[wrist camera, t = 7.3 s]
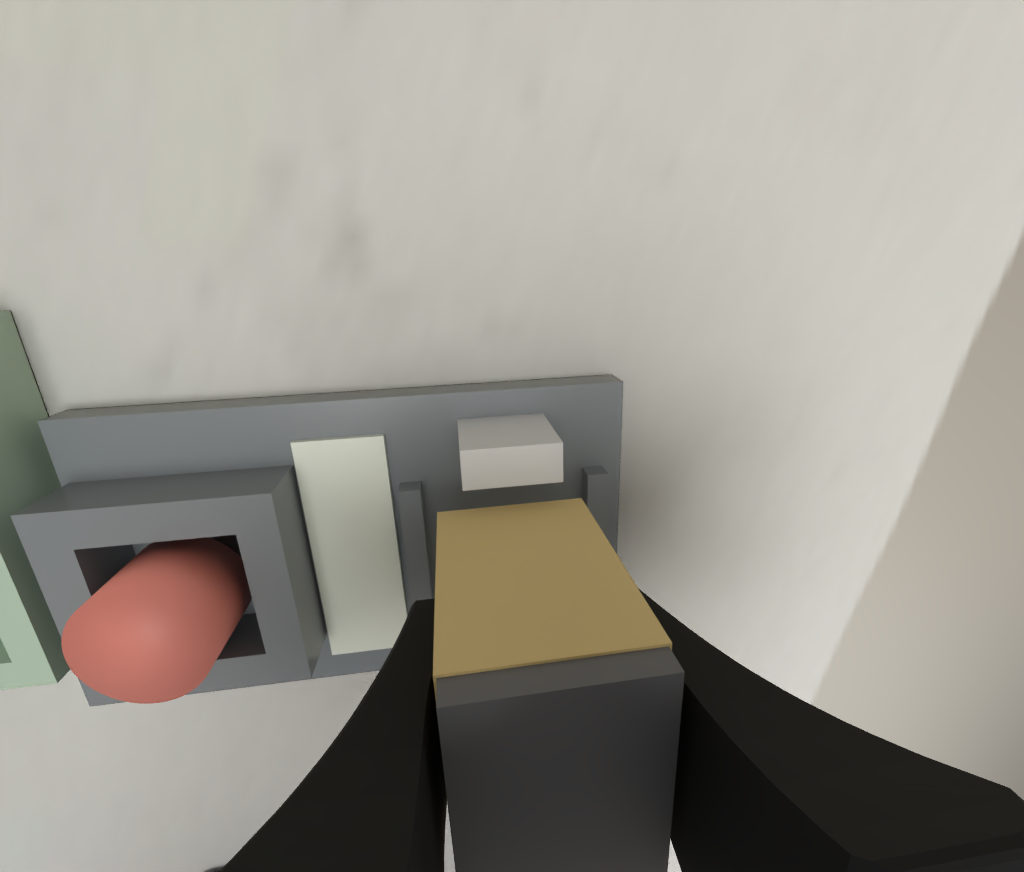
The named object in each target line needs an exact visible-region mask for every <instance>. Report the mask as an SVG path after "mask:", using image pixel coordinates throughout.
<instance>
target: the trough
mask: <svg viewBox="0 0 1024 872" xmlns="http://www.w3.org/2000/svg"><path fill="white" fill-rule="evenodd" d="M46 417H48V415H47V412H46V409H45V406H44V404H43V401H42V398H41V395H40V393H39V390H38V387H37V384H36V382H35V379H34V376H33V373H32V371H31V368H30V365H29V362H28V360H27V357H26V354H25V351H24V349H23V346H22V343H21V340H20V337H19V335H18V332H17V329H16V326H15V324H14V321H13V318H12V315H11V313H10V311H0V690H4V689H12V688H21V687H29V686H37V685H46V684H54V683H58V682H59V681H60V680H61V679H62V678H63V677H64V676H65V674H66V673H67V672H68V671H69V670H70V667H69V666H68V664H67V662H66V660H65V658H64V655H63V652H62V645H61V641H62V638H61V636H60V634H59V631H58V629H57V627H56V624H55V622H54V619H53V617H52V615H51V612H50V610H49V607H48V605H47V603H46V600H45V598H44V595H43V593H42V591H41V588H40V586H39V583H38V581H37V579H36V576H35V574H34V571H33V569H32V567H31V564H30V562H29V559H28V557H27V555H26V552H25V550H24V548H23V545H22V543H21V540H20V538H19V536H18V533H17V531H16V528H15V526H14V524H13V521H12V519H11V516H10V515H12V514H14V513H16V512H18V511H19V510H21V509H23V508H25V507H27V506H28V505H30V504H32V503H34V502H35V501H37V500H39V499H41V498H43V497H44V496H46V495H48V494H50V493H52V492H53V491H55V490H57V489H59V488H61V484H60V481H59V478H58V476H57V473H56V470H55V468H54V465H53V462H52V460H51V457H50V454H49V452H48V449H47V446H46V443H45V441H44V438H43V435H42V433H41V430H40V427H39V425H38V422H37V421H38V420H41V419H43V418H46Z"/></svg>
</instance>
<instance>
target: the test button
mask: <svg viewBox="0 0 1024 872" xmlns="http://www.w3.org/2000/svg"><path fill="white" fill-rule="evenodd" d="M251 599H252V596H251V592H250V588H249V584H248V580H247V576H246V572H245V568H244V564H243V560H242V558H241V557H240V556H239V555H238V554H237V553H236V552H234V551H233V550H232V549H230V548H229V547H228V546H226V545H224V544H222V543H220V542H218V541H216V540H213V539H211V538H207V537H205V538H195V539H184V540H173V541H163V542H153V543H151V544H149V545H148V546H146V547H145V548H144V549H143V550H142V551H141V552H139V553H138V554H137V555H136V556H135V557H134V558H133V559H132V560H131V561H130V562H129V563H127V564H126V565H125V566H124V567H123V568H122V569H121V570H120V571H119V572H118V573H116V574H115V575H114V576H113V577H112V578H111V579H110V580H109V581H108V582H107V583H106V584H104V585H103V586H102V587H101V588H100V589H99V590H98V591H97V592H96V593H95V594H93V595H92V596H91V597H90V598H89V599H88V600H87V601H86V602H85V603H84V604H83V605H81V606H80V607H79V608H78V609H77V610H76V611H75V612H74V613H73V614H72V615H71V616H70V618H69V619H68V621H67V622H66V625H65V627H64V629H63V633H62V641H61V645H62V652H63V655H64V658H65V660H66V662H67V664H68V666H69V667H70V669H71V670H72V671H73V673H74V674H75V675H76V676H77V677H78V678H79V679H80V680H81V681H82V682H83V683H85V684H86V685H87V686H89V687H90V688H92V689H93V690H95V691H97V692H99V693H101V694H103V695H106V696H108V697H111V698H114V699H117V700H121V701H126V702H132V703H159V702H165V701H169V700H173V699H176V698H179V697H181V696H183V695H185V694H187V693H189V692H191V691H192V690H193V689H195V688H196V687H197V686H198V685H200V684H201V683H202V682H203V680H204V679H205V678H206V676H207V675H208V673H209V671H210V670H211V668H212V666H213V665H214V663H215V661H216V660H217V658H218V656H219V655H220V653H221V651H222V650H223V648H224V646H225V644H226V643H227V641H228V639H229V638H230V636H231V634H232V633H233V631H234V629H235V628H236V626H237V624H238V623H239V621H240V619H241V617H242V616H243V614H244V612H245V611H246V609H247V607H248V605H249V604H250V602H251Z"/></svg>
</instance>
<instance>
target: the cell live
mask: <svg viewBox="0 0 1024 872" xmlns="http://www.w3.org/2000/svg"><path fill="white" fill-rule="evenodd" d="M684 675H685V672H684V670H683V668H682V667H681V665H680V663H679V662H678V660H677V659H676V657H675V655H674V654H673V652H672V642H671V640H670V638H669V637H668V635H667V634H666V632H665V630H664V629H663V627H662V626H661V624H660V622H659V621H658V619H657V618H656V616H655V615H654V613H653V611H652V610H651V608H650V607H649V605H648V603H647V602H646V600H645V599H644V597H643V595H642V594H641V592H640V591H639V589H638V587H637V586H636V584H635V583H634V581H633V579H632V578H631V576H630V575H629V573H628V571H627V570H626V568H625V567H624V565H623V563H622V562H621V560H620V559H619V557H618V555H617V554H616V552H615V551H614V549H613V547H612V546H611V544H610V543H609V541H608V540H607V538H606V536H605V535H604V533H603V532H602V530H601V528H600V527H599V525H598V524H597V522H596V520H595V519H594V517H593V516H592V514H591V512H590V511H589V509H588V508H587V506H586V504H585V503H584V501H583V500H582V498H576V499H566V500H555V501H545V502H535V503H525V504H515V505H505V506H495V507H485V508H475V509H465V510H454V511H444V512H437V537H436V574H435V612H434V649H433V682H434V690H435V699H436V710H437V719H438V727H439V735H440V744H441V752H442V761H443V769H444V778H445V786H446V794H447V803H448V811H449V820H450V828H451V836H452V845H453V853H454V862H455V870H456V872H667V869H668V858H669V846H670V835H671V824H672V812H673V801H674V789H675V778H676V767H677V755H678V744H679V732H680V721H681V710H682V698H683V687H684Z"/></svg>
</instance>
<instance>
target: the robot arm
mask: <svg viewBox="0 0 1024 872" xmlns="http://www.w3.org/2000/svg"><path fill="white" fill-rule="evenodd" d="M639 591H640V592H641V594H642V595H643V597H644V599H645V600H646V602H647V603H648V605H649V607H650V608H651V610H652V611H653V613H654V615H655V616H656V618H657V619H658V621H659V622H660V624H661V626H662V627H663V629H664V630H665V632H666V634H667V635H668V637H669V638H670V640H671V642H672V652H673V654H674V655H675V657H676V659H677V660H678V662H679V663H680V665H681V667H682V668H683V670H684V672H685V675H684V687H683V698H682V710H681V721H680V732H679V744H678V755H677V767H676V778H675V789H674V801H673V812H672V824H671V835H670V839H671V841H672V844H673V847H674V850H675V853H676V856H677V859H678V862H679V865H680V868H681V871H682V872H1024V800H1022V799H1021V798H1020V797H1019V796H1018V795H1017V794H1016V793H1014V792H1013V791H1012V790H1011V789H1010V788H1008V787H1005V786H1003V785H1000V784H997V783H995V782H992V781H989V780H986V779H984V778H981V777H978V776H976V775H973V774H970V773H968V772H965V771H962V770H959V769H957V768H954V767H951V766H949V765H946V764H943V763H940V762H938V761H935V760H932V759H930V758H927V757H924V756H922V755H920V754H917V753H914V752H912V751H910V750H908V749H905V748H903V747H901V746H898V745H896V744H893V743H891V742H889V741H886V740H884V739H882V738H879V737H877V736H875V735H872V734H870V733H868V732H866V731H864V730H862V729H859V728H857V727H855V726H852V725H851V724H848V723H846V722H844V721H842V720H840V719H838V718H836V717H834V716H832V715H830V714H828V713H826V712H824V711H822V710H820V709H818V708H816V707H814V706H812V705H810V704H808V703H806V702H804V701H803V700H801V699H799V698H797V697H795V696H793V695H792V694H790V693H788V692H786V691H784V690H782V689H781V688H779V687H777V686H776V685H774V684H772V683H771V682H769V681H767V680H765V679H764V678H762V677H760V676H759V675H757V674H755V673H754V672H752V671H750V670H749V669H747V668H745V667H744V666H742V665H741V664H739V663H738V662H736V661H734V660H733V659H732V658H730V657H729V656H727V655H726V654H724V653H723V652H721V651H720V650H718V649H717V648H715V647H714V646H712V645H711V644H709V643H708V642H707V641H705V640H704V639H703V638H701V637H700V636H698V635H697V634H696V633H694V632H693V631H692V630H690V629H689V628H688V627H686V626H685V625H684V624H682V623H681V622H680V621H678V620H677V619H676V618H674V617H673V616H672V615H671V614H669V613H668V612H667V611H666V610H664V609H663V608H662V607H661V606H659V605H658V604H657V603H656V602H654V601H653V600H652V599H651V598H649V597H648V596H647V595H646V594H645V593H643V592H642V591H641V590H640V589H639ZM434 612H435V598H433V599H425V600H416V601H415V602H414V603H413V604H412V605H411V608H410V611H409V613H408V616H407V618H406V621H405V623H404V625H403V627H402V629H401V632H400V634H399V636H398V638H397V640H396V642H395V644H394V646H393V648H392V649H391V651H390V653H389V655H388V657H387V659H386V660H385V662H384V664H383V666H382V668H381V670H380V671H379V673H378V675H377V677H376V678H375V680H374V682H373V683H372V685H371V686H370V688H369V690H368V691H367V693H366V694H365V696H364V697H363V699H362V701H361V702H360V704H359V705H358V707H357V709H356V710H355V712H354V713H353V715H352V716H351V718H350V719H349V720H348V722H347V723H346V725H345V726H344V728H343V729H342V730H341V732H340V733H339V735H338V736H337V737H336V739H335V740H334V741H333V743H332V744H331V745H330V747H329V748H328V749H327V751H326V752H325V753H324V755H323V756H322V757H321V759H320V760H319V761H318V762H317V764H316V765H315V766H314V767H313V768H312V770H311V771H310V772H309V773H308V775H307V776H306V777H305V778H304V780H303V781H302V782H301V783H300V785H299V786H298V787H297V788H296V789H295V791H294V792H293V793H292V794H291V795H290V796H289V798H288V799H287V800H286V801H285V802H284V803H283V804H282V806H281V807H280V808H279V809H278V810H277V811H276V812H275V813H274V814H273V815H272V817H271V818H270V819H269V820H268V821H267V822H266V823H265V824H264V825H263V826H262V827H261V828H260V829H259V830H258V831H257V833H256V834H255V835H254V836H253V837H252V838H251V839H250V840H249V841H248V842H247V843H246V844H245V845H244V846H243V847H242V849H241V850H240V851H239V852H238V853H237V854H236V855H235V856H234V857H233V858H232V859H231V860H230V861H229V862H228V863H227V864H226V865H225V866H224V867H223V868H222V869H221V870H220V871H219V872H444V844H445V821H446V806H447V794H446V786H445V778H444V769H443V761H442V752H441V744H440V735H439V727H438V719H437V710H436V699H435V690H434V682H433V649H434Z"/></svg>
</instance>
